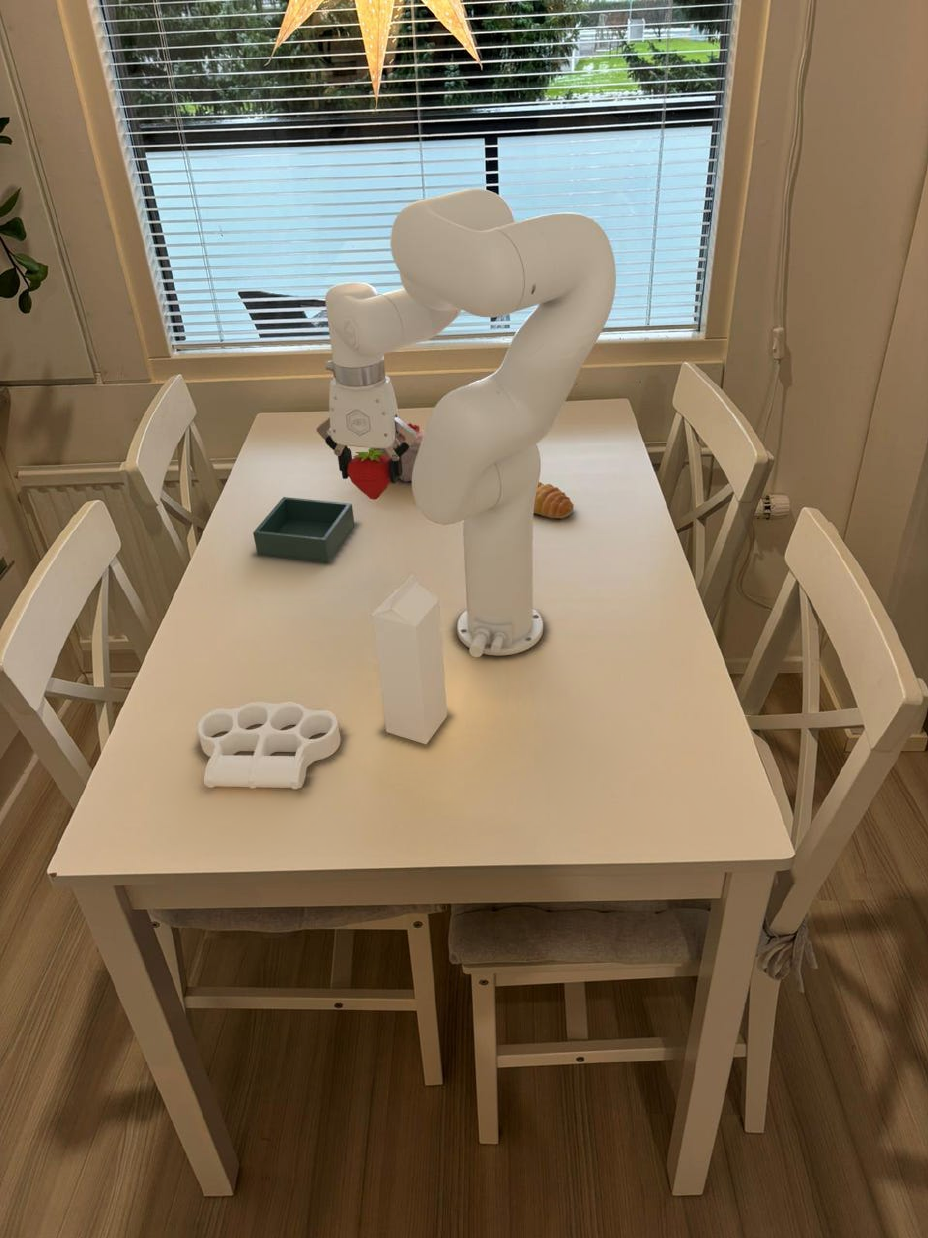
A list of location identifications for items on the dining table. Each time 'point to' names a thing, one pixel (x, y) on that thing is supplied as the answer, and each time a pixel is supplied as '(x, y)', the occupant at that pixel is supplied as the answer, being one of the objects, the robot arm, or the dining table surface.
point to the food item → (408, 453)
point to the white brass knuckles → (265, 744)
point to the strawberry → (370, 472)
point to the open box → (304, 529)
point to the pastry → (552, 502)
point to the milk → (410, 662)
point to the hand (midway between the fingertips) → (371, 476)
